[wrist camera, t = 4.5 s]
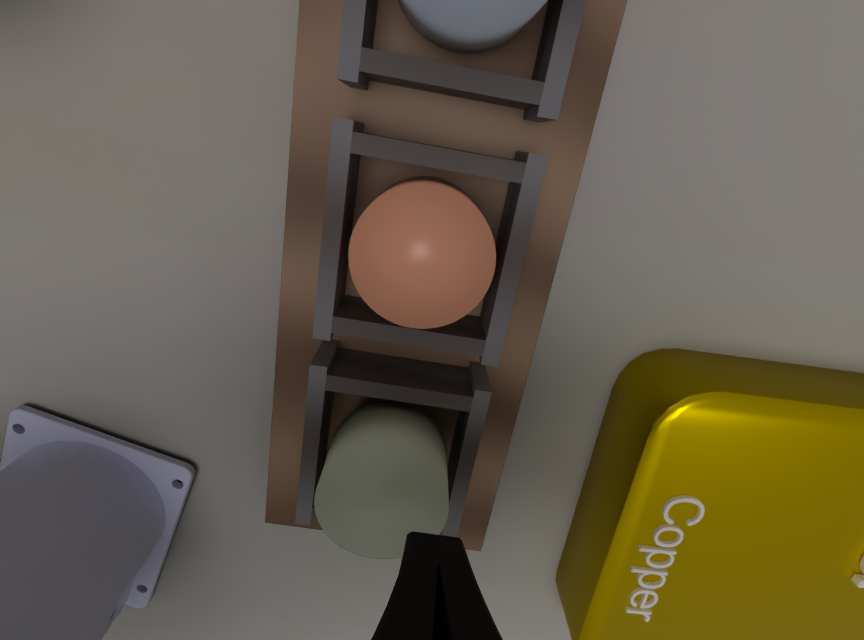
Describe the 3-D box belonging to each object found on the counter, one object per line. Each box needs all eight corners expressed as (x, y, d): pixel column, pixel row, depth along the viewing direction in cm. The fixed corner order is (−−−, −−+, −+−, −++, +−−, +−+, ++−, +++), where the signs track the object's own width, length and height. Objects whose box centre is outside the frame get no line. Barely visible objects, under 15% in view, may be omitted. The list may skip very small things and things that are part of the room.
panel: (478, 531, 24) (489, 622, 19) (273, 503, 23) (235, 591, 19) (670, -209, 14) (779, -368, 10) (330, -288, 14) (280, -496, 9)
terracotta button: (472, 307, 18) (479, 338, 15) (355, 289, 18) (340, 316, 15) (497, 188, 17) (510, 198, 14) (370, 165, 17) (357, 171, 14)
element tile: (622, 338, 21) (674, 392, 16) (951, 381, 22) (1088, 445, 17) (545, 595, 26) (569, 691, 22) (813, 624, 27) (890, 721, 22)
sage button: (435, 505, 20) (436, 566, 17) (326, 490, 19) (308, 550, 17) (455, 411, 18) (460, 461, 15) (337, 393, 18) (320, 441, 15)
